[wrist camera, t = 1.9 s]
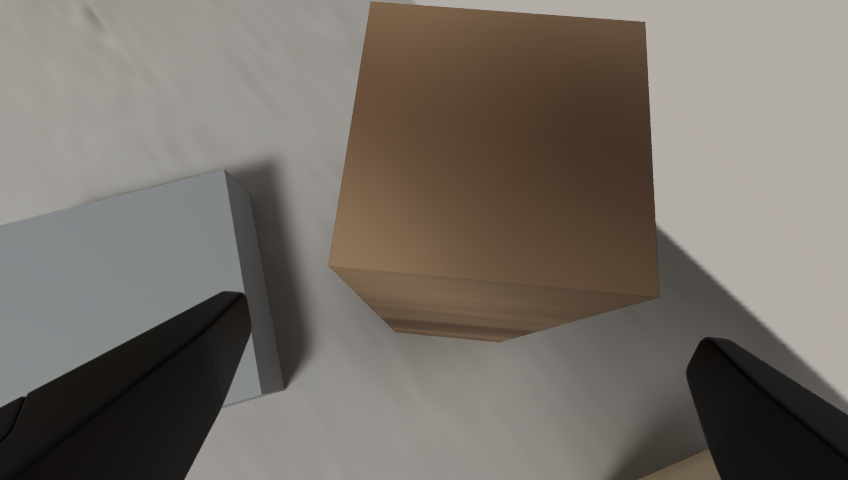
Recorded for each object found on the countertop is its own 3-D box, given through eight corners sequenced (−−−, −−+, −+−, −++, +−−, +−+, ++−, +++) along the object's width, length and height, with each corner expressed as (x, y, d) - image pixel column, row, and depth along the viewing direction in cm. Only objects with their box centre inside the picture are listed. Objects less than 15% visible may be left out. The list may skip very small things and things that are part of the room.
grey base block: (287, 389, 18) (261, 394, 15) (69, 452, 18) (-1, 470, 15) (252, 196, 20) (223, 169, 18) (59, 246, 20) (-3, 226, 17)
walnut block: (499, 342, 18) (659, 297, 6) (395, 331, 18) (328, 265, 6) (504, 242, 19) (644, 22, 7) (406, 232, 20) (370, 1, 7)
